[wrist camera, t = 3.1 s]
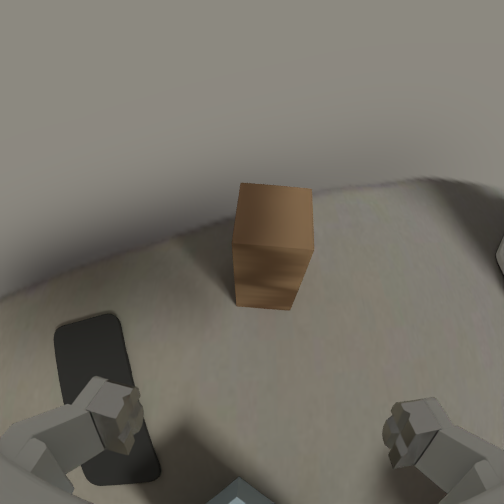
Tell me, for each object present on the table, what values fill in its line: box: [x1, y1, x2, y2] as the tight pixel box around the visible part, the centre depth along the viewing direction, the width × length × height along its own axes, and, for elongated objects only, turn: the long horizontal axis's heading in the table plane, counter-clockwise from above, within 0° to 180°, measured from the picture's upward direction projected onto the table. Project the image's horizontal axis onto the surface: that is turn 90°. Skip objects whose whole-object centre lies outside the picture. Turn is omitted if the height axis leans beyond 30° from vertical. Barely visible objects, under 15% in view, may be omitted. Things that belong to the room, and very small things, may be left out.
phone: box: [54, 314, 161, 486], centre depth 20 cm, size 7×1×15 cm
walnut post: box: [232, 183, 314, 310], centre depth 22 cm, size 4×4×10 cm
